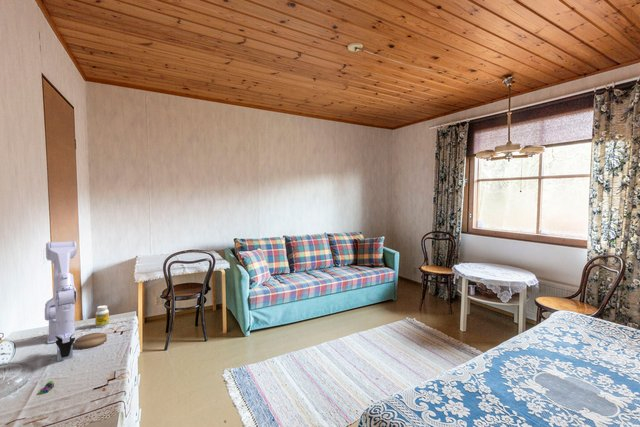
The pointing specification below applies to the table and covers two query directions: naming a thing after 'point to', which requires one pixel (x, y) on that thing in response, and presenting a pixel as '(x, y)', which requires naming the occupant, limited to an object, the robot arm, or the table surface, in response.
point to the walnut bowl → (90, 340)
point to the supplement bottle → (102, 316)
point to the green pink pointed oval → (47, 388)
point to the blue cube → (64, 357)
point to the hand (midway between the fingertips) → (64, 353)
